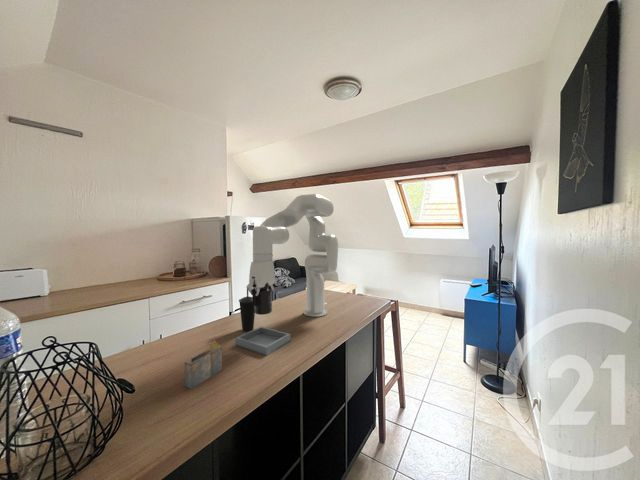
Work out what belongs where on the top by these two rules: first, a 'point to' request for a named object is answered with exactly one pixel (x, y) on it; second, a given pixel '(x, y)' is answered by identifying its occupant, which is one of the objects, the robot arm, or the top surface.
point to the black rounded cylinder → (247, 313)
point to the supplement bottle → (264, 301)
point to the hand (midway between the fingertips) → (263, 302)
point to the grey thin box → (203, 365)
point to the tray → (263, 340)
